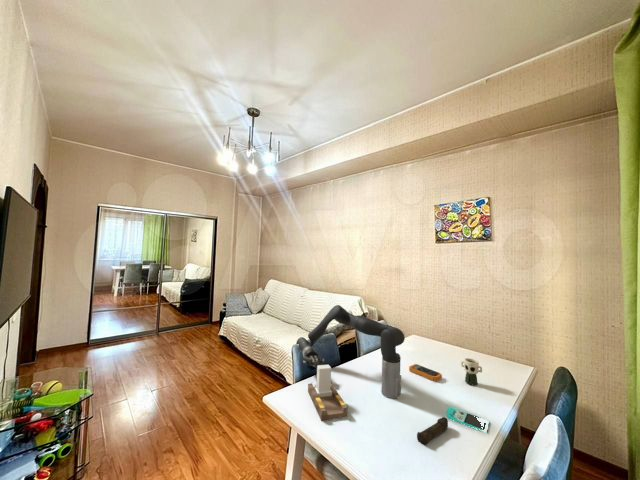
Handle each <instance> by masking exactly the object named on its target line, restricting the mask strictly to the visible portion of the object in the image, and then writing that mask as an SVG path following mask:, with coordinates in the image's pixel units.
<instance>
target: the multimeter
mask: <svg viewBox="0 0 640 480" xmlns="http://www.w3.org/2000/svg"><path fill="white" fill-rule="evenodd" d="M408 370H409V372H410V373H412V374H415V375H418V376H419V377H422V378H424V379H427V380H429V381H432V382H435V383H437V382H440V381H441V380H442V378H443V374H442V373H441V372H438V371H436V370H433V369H430V368H428V367H425V366H422V365H420V364H417V363H414V364H411V365H410V366H408Z"/></svg>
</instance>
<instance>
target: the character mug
mask: <svg viewBox="0 0 640 480" xmlns="http://www.w3.org/2000/svg"><path fill="white" fill-rule="evenodd" d="M460 363H461V364H460V366H461V367H462V368H464V369H463V370H464V371H465V372H466V373H465V378H464V379H465V380H464V382H465V383H466V384H470V385H471V386H477V385H478V376H477V375H478V374H479V373H482V372H483V367H482V366H481V365H479V361H478V360H477V359H474V358H469V357H467V358H464V360H461V361H460Z"/></svg>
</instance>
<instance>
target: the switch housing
mask: <svg viewBox="0 0 640 480" xmlns="http://www.w3.org/2000/svg"><path fill="white" fill-rule="evenodd" d="M315 387H316V386H314V384H313V383H312V382H311V383H307V392H308V395H309V397H310V400H311V402H312V404H313V406H314V408H315V411H316V412H317V413H316V414H317V415H318V417H319V419H320V420H321V422H324V421H329V420H336V419H343V418H348V414H349V413H348V410H349V409H348V406H347V404H346V402H345V401H344V400H343V399H344V398H342V397H341V395H340V394H339V393H338V391H337V389H336V387H335V386H334V384H332V382H331V386H330V389H331V391H332V396H326V397H319V396H318V394H317V392H316V390H315Z"/></svg>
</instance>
